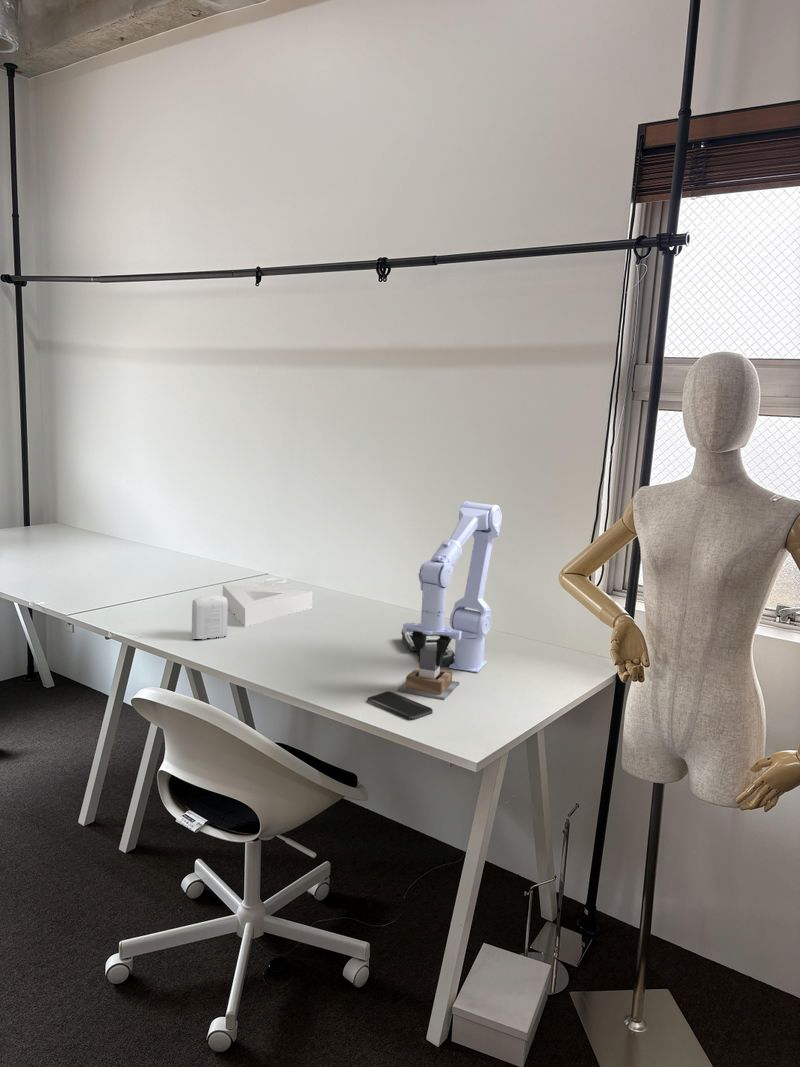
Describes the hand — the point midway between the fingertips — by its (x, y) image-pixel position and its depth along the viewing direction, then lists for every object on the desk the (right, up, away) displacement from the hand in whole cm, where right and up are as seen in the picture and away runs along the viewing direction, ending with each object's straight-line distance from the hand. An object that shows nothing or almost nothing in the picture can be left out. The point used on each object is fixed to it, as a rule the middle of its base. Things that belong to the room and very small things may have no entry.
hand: (430, 663), depth 208 cm
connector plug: (0, -3, 0) cm, 3 cm away
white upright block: (-62, +2, +33) cm, 70 cm away
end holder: (0, -6, +1) cm, 6 cm away
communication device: (+1, -2, +28) cm, 28 cm away
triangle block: (-52, +5, +56) cm, 77 cm away
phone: (-8, -9, -12) cm, 17 cm away
